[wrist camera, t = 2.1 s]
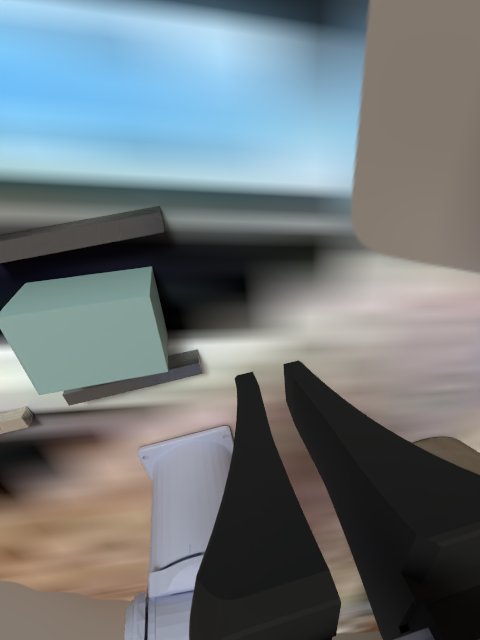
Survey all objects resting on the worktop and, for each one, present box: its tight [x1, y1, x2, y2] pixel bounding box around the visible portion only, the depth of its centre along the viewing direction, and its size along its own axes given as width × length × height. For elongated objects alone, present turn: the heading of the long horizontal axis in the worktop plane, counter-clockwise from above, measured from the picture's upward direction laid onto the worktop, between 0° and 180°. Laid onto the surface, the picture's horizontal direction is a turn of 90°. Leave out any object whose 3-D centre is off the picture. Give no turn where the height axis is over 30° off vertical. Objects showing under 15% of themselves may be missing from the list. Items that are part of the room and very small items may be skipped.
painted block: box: [0, 267, 168, 395], centre depth 18 cm, size 5×7×4 cm
